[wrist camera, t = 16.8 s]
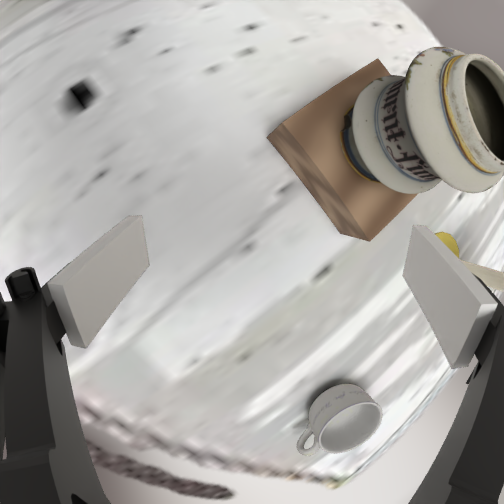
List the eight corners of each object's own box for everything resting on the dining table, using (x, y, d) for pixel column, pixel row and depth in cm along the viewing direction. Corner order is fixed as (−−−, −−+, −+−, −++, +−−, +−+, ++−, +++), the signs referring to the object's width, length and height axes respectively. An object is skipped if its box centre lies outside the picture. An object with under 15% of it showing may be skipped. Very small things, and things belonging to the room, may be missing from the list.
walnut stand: (266, 137, 37) (282, 122, 29) (350, 78, 37) (377, 58, 29) (340, 233, 41) (369, 241, 33) (411, 166, 41) (446, 163, 33)
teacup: (356, 364, 45) (380, 390, 37) (366, 408, 47) (386, 434, 39) (276, 401, 44) (289, 434, 36) (295, 441, 46) (308, 472, 38)
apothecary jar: (336, 77, 29) (437, 1, 12) (420, 112, 31) (532, 80, 14) (322, 179, 31) (443, 164, 13) (411, 204, 33) (536, 215, 15)
